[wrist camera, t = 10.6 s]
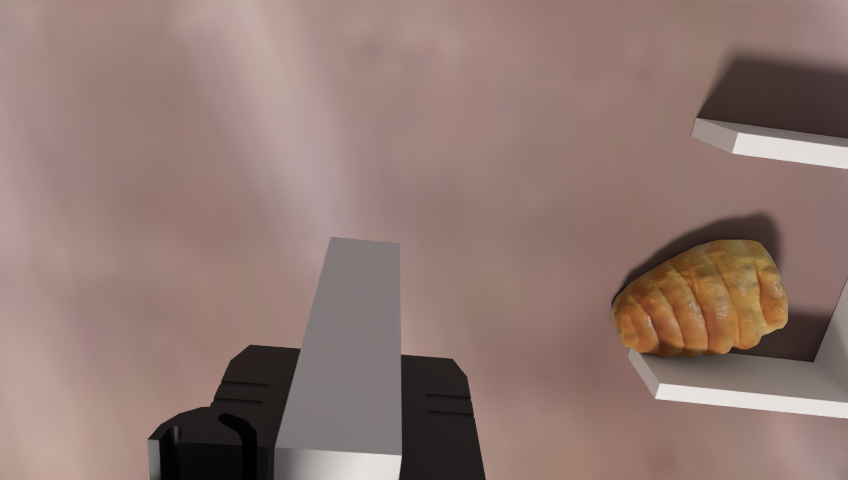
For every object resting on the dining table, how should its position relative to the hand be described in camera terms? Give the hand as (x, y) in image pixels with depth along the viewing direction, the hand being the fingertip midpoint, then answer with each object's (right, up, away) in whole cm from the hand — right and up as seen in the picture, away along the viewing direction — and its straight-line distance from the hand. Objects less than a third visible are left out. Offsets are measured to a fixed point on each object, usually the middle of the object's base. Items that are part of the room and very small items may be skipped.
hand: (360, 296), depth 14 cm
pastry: (+18, -2, +24) cm, 30 cm away
